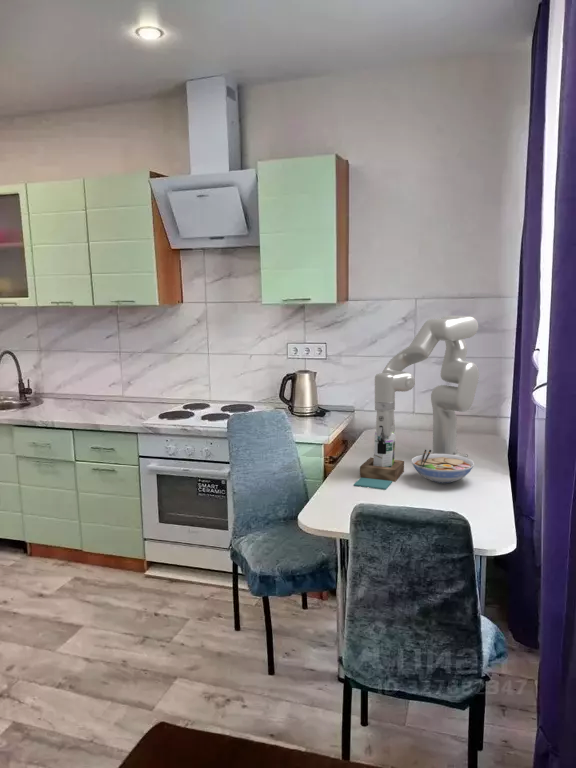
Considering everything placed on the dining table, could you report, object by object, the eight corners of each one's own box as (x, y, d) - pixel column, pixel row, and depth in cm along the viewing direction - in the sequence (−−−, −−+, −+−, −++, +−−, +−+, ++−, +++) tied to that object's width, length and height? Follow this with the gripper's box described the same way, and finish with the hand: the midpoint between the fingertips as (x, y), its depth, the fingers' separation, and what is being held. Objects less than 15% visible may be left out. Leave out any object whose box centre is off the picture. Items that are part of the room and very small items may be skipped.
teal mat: (392, 482, 222) (392, 480, 222) (385, 489, 214) (385, 488, 214) (361, 478, 227) (361, 477, 227) (353, 485, 219) (353, 484, 219)
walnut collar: (403, 471, 235) (404, 460, 234) (395, 481, 223) (395, 470, 222) (370, 468, 240) (370, 457, 240) (360, 477, 228) (360, 466, 228)
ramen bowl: (472, 494, 208) (472, 471, 206) (405, 487, 216) (405, 465, 214) (476, 473, 231) (476, 453, 230) (415, 468, 239) (416, 448, 238)
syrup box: (381, 471, 227) (384, 434, 225) (372, 466, 233) (374, 430, 230) (393, 469, 230) (396, 432, 228) (384, 465, 235) (386, 429, 233)
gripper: (388, 410, 218) (388, 457, 221) (400, 402, 234) (400, 446, 236) (368, 409, 221) (368, 455, 224) (381, 401, 237) (381, 444, 239)
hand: (384, 450), depth 230 cm, fingers closed on syrup box, 7 cm apart
